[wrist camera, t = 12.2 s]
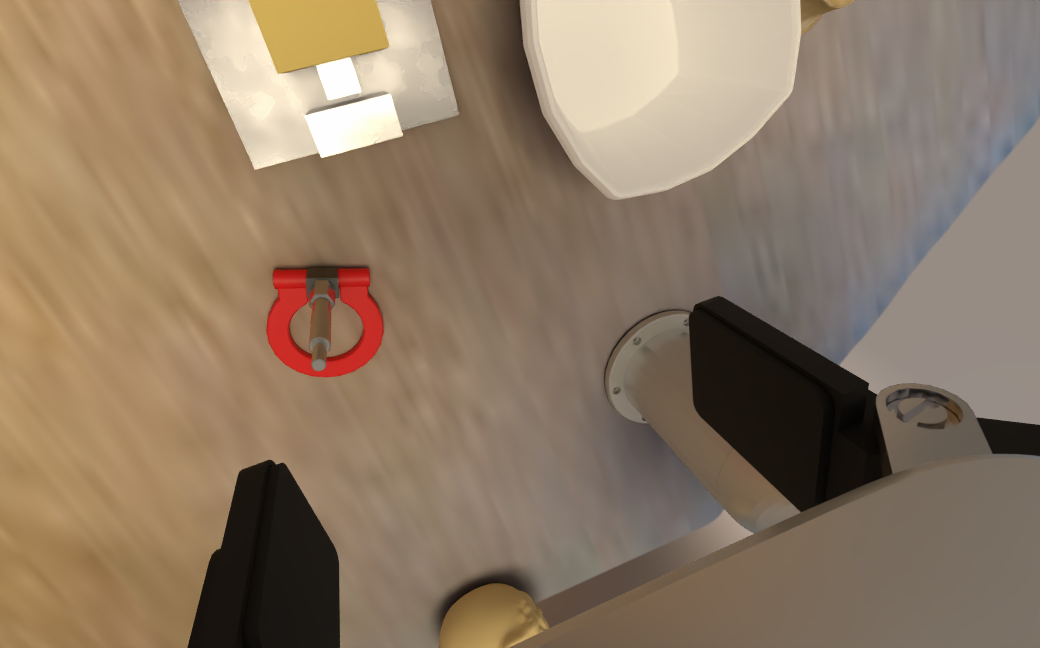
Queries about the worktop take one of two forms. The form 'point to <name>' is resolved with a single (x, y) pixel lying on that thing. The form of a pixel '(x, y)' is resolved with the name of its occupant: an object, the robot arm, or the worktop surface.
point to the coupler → (324, 83)
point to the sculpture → (491, 619)
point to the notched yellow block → (318, 30)
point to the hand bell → (817, 11)
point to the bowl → (658, 82)
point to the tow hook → (323, 318)
